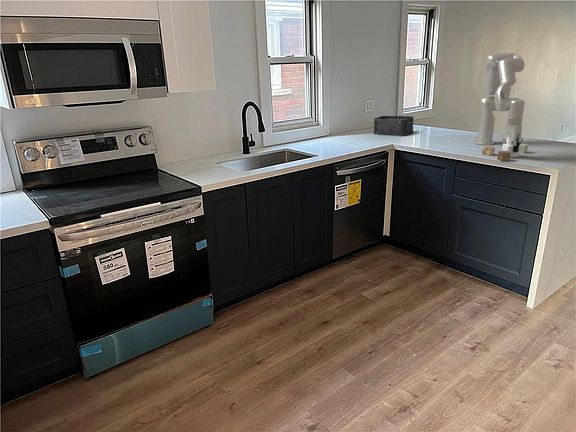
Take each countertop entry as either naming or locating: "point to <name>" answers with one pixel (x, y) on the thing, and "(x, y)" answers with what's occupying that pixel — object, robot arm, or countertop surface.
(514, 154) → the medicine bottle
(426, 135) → the countertop surface
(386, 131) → the storage bin
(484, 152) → the oak cube
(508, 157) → the walnut cube
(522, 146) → the sage cube
